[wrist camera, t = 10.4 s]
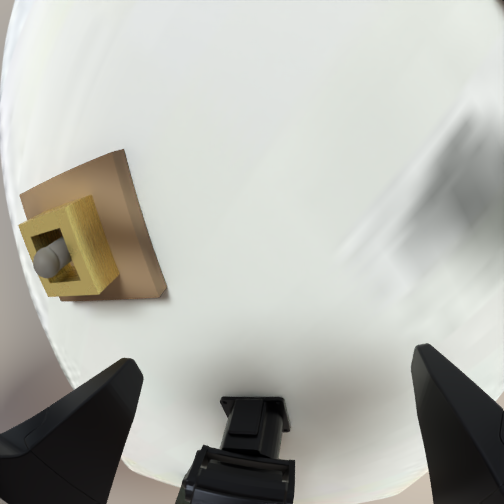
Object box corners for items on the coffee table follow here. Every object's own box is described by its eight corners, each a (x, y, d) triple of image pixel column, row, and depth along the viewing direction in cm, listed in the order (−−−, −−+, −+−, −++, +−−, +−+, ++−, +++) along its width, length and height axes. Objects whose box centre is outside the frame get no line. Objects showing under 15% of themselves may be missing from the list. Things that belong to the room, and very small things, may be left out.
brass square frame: (119, 273, 21) (98, 294, 18) (68, 279, 22) (48, 296, 20) (91, 194, 18) (64, 207, 16) (42, 212, 20) (18, 225, 17)
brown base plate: (166, 286, 23) (129, 339, 17) (69, 293, 25) (31, 330, 20) (123, 148, 18) (61, 167, 13) (30, 190, 21) (-21, 213, 15)
